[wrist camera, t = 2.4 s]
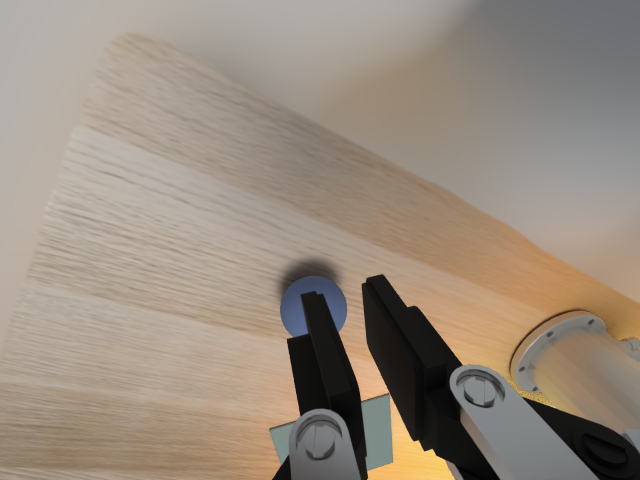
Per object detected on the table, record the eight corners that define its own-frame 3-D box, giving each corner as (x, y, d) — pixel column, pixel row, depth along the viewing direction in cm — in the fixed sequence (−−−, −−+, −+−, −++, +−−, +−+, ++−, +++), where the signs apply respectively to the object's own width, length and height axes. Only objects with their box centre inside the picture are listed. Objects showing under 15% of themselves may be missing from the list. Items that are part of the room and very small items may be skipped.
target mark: (388, 393, 38) (389, 395, 38) (392, 460, 44) (393, 462, 44) (269, 429, 36) (269, 430, 36) (291, 493, 43) (291, 495, 42)
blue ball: (333, 257, 28) (352, 293, 23) (340, 306, 30) (358, 348, 26) (271, 271, 27) (277, 312, 23) (283, 320, 30) (291, 366, 25)
